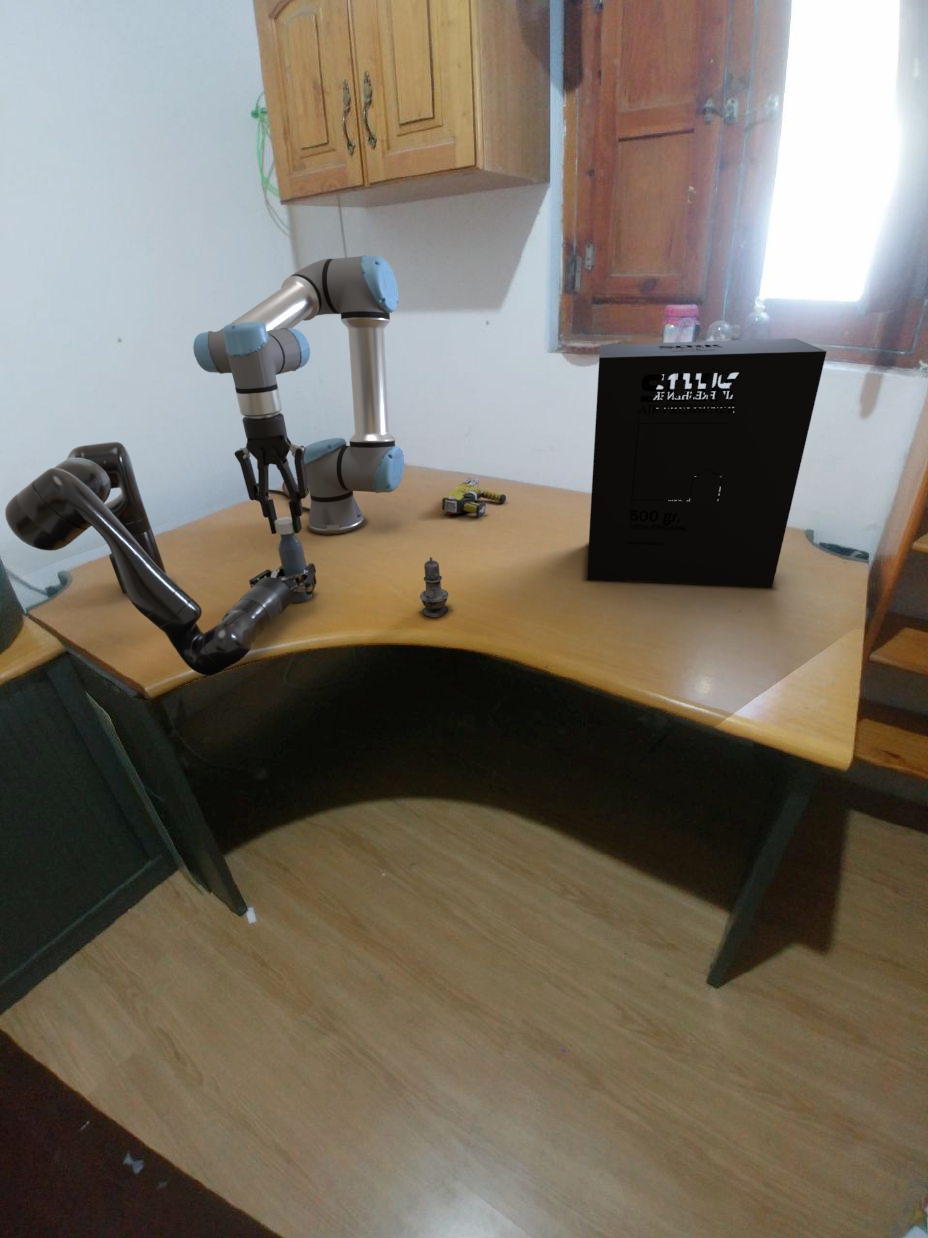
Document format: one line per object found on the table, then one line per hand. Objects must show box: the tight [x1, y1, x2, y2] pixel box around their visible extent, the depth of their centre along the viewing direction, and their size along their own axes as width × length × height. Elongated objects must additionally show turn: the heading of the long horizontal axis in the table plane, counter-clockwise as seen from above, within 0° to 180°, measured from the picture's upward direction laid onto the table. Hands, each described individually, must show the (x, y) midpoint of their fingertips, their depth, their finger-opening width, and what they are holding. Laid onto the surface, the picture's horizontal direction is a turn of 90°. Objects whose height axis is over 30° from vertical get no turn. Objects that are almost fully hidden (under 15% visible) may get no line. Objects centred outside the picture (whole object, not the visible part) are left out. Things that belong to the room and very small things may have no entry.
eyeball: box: [281, 477, 299, 497], centre depth 192 cm, size 6×6×6 cm
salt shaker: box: [419, 556, 450, 618], centre depth 120 cm, size 6×6×12 cm
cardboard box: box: [586, 338, 828, 589], centre depth 126 cm, size 38×20×45 cm, turn 78°
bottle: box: [277, 532, 313, 603], centre depth 128 cm, size 5×5×17 cm
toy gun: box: [441, 477, 507, 518], centre depth 177 cm, size 5×24×15 cm
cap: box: [274, 516, 294, 535], centre depth 124 cm, size 4×4×2 cm
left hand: (300, 566), depth 131 cm, fingers closed on bottle, 5 cm apart
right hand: (286, 530), depth 124 cm, fingers closed on cap, 4 cm apart
